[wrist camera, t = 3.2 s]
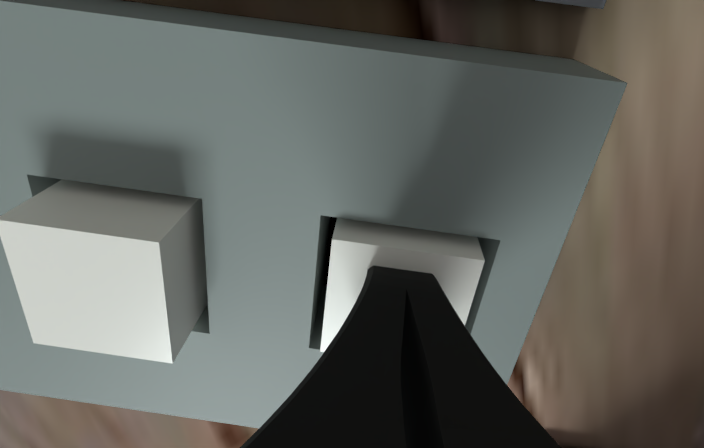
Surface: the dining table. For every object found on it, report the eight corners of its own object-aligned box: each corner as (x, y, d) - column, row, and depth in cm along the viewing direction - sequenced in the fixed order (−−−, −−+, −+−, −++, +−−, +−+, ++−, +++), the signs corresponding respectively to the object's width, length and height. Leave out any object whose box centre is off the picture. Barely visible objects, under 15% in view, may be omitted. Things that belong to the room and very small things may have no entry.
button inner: (466, 204, 11) (485, 261, 9) (441, 301, 12) (450, 370, 10) (344, 187, 11) (332, 239, 9) (333, 285, 12) (320, 351, 10)
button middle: (209, 186, 10) (159, 243, 8) (214, 291, 12) (172, 363, 9) (80, 168, 10) (-5, 219, 8) (101, 275, 12) (33, 343, 9)
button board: (574, 59, 9) (627, 83, 7) (464, 387, 14) (476, 460, 12) (-247, -48, 10) (-430, -57, 8) (-84, 307, 15) (-168, 364, 12)
